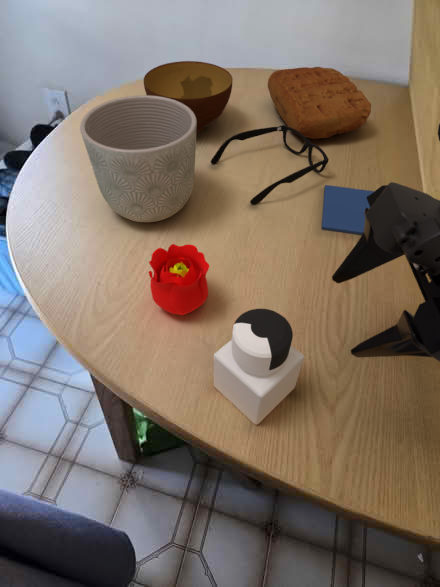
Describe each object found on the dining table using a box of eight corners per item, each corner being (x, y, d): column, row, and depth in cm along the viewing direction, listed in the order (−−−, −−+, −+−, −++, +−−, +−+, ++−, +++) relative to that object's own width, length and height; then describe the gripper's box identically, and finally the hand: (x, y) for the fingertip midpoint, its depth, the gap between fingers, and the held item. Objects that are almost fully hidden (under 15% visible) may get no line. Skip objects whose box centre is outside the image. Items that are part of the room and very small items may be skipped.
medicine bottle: (252, 351, 54) (260, 289, 45) (296, 387, 51) (314, 328, 42) (212, 386, 51) (212, 326, 42) (256, 427, 48) (266, 372, 39)
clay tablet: (261, 101, 100) (265, 65, 94) (329, 94, 103) (336, 59, 97) (295, 150, 86) (301, 112, 80) (371, 141, 89) (383, 103, 83)
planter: (158, 251, 66) (147, 165, 55) (79, 213, 72) (54, 128, 61) (217, 196, 76) (218, 113, 64) (143, 166, 82) (132, 85, 70)
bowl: (180, 157, 84) (177, 107, 76) (133, 122, 93) (126, 74, 85) (247, 130, 91) (250, 82, 84) (198, 100, 100) (197, 54, 92)
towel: (386, 195, 77) (387, 192, 76) (389, 239, 69) (390, 236, 69) (324, 187, 78) (325, 184, 78) (321, 229, 70) (322, 226, 70)
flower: (143, 314, 58) (135, 273, 52) (167, 275, 63) (162, 234, 57) (196, 330, 56) (195, 290, 50) (217, 289, 61) (217, 249, 55)
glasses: (332, 184, 80) (339, 160, 76) (253, 208, 74) (256, 183, 70) (282, 143, 89) (286, 120, 86) (207, 161, 83) (208, 137, 79)
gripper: (412, 98, 35) (277, 213, 44) (519, 255, 23) (302, 370, 32) (475, 173, 41) (343, 262, 50) (587, 331, 29) (386, 411, 38)
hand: (343, 314), depth 42 cm, fingers open, 9 cm apart
